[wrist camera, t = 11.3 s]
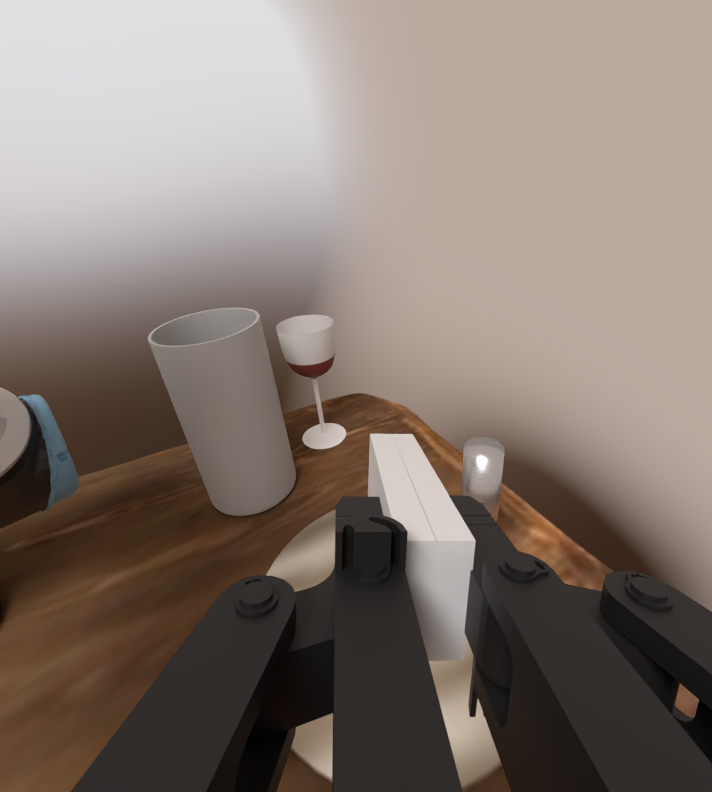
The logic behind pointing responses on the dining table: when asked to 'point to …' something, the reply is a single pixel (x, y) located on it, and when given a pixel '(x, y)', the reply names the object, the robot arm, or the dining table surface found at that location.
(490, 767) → the dial stand
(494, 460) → the bronze knob lever
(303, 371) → the wineglass
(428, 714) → the robot arm
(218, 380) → the cylinder vase
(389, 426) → the dining table surface
